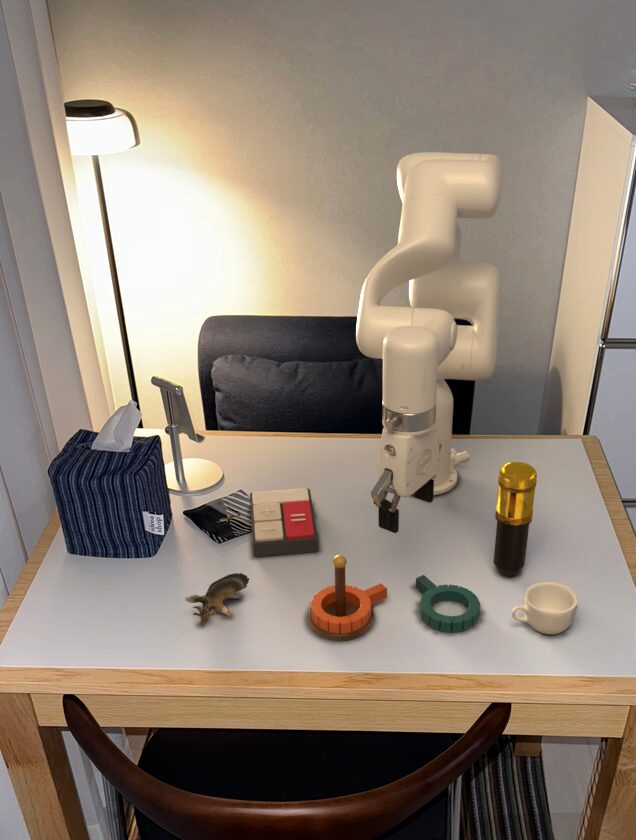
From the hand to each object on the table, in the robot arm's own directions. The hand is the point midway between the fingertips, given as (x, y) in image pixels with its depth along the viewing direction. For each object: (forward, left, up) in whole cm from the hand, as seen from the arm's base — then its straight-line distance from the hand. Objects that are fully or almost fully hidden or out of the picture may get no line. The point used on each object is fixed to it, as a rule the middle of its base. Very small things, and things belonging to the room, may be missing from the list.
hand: (406, 514), depth 137 cm
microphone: (-22, +5, -16) cm, 27 cm away
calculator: (+7, -27, -16) cm, 32 cm away
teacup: (-14, +17, -16) cm, 27 cm away
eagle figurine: (+26, -13, -16) cm, 33 cm away
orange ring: (+10, -1, -15) cm, 18 cm away
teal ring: (-4, +6, -16) cm, 17 cm away
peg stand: (+11, -1, -16) cm, 20 cm away
